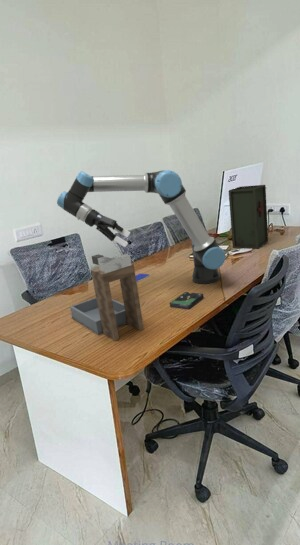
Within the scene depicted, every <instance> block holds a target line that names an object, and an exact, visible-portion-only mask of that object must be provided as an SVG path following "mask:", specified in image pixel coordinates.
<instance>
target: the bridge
mask: <svg viewBox="0 0 300 545" xmlns="http://www.w3.org/2000/svg"><path fill="white" fill-rule="evenodd" d="M90 272H91V277H92V283H93V287H94V288H93V289H94V293H95V298H96V299H97V304H98V309H99V315H100V320H101V325H102V330H103V333H102V334H103V335H105V336H106V337H108V338H109V339H111V340H113V341H114V342H115V341H118V340H120V336H119V331H118V327H117V324H116V318H115V313H114V307H113V302H112V299H113V296H112V292H111V287H110V283H113V282H116V281H118V280H119V283H120V284H119V285H120V290H121V296H122V301H123V304H124V308H125V314H126V319H127V323H126V324H127V325H129V326H131V327H133V328H135V329H137V330H138V331H141V330H143V329H144V327H145V326H144V323H143V317H142V314H143V313H142V308H141V303H140V298H139V296H140V295H139V291H138V284H137V283H138V282H136V271H135V267H134V263H133V264H132V263H131V265H130V266H127V267H124V268H121V269H118V270H115V271H111V272H108V273H102V272H100V269H99V267H97V268H93V269H91V270H90Z"/></svg>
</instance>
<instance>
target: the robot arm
mask: <svg viewBox="0 0 300 545" xmlns="http://www.w3.org/2000/svg"><path fill="white" fill-rule="evenodd" d="M135 191H136V192H141V191H142V192H145V193H152V194H153V193H154V194H158V195H159V197H160V198H161V200H162V202H163V203H164V205H166V206H169V207H170V208H171V210H172V211H173V213H174V215H175V216H176V219H177V220H178V222H179V223H180V224H181V226H182V228H183V230H185V233H186V234H187V236H188V237H189V239H190V240H191V248H192V259H193V266H194V267H193V271H192V275H191V276H192V277H191V278H192V282H193V283H195V284H203V285H205V284H212V283H216V282H218V281H220V280H221V273H220V271H219V268H221V267H222V266H223V265H224V263H225V261H226V253H225V250H224V249H223V248H222V247H221V246H220V245H219V244H218V242H217V240H215V239H214V237H210V236H209V235H208V233H209V232H208V231H207V230H206V228H205V226H204V224H203V223H202V221H201V220H200V218H199V216H198V214H197V213H196V212H195V210H194V208H193V207H192V205H191V203H190V201H189V200H188V198H187V197H186V191H187V190H186V189H185V187H184V185H183V182H182V179H181V177H180V175H179V173H178V172H175V171H173V170H172V169H170V170H169V169H166V170H165V169H164V170H159V171H153V172H145V173H144V174H139V175H138V174H136V175H135V174H133V175H132V174H130V175H128V174H126V175H92V176H91V175H90V174H88V173H86V172H85V171H83V170H80V171H79V172H78V174H77V176H76V178H75V179H74V181H73V183H72V185H71V187H70V188H69V189H68V192H67V191H62V192H61V194H60V195H59V196H58V198H57V200H56V204H57V206H58V207H60V209H62V210H63V211H66V212H67V213H68V214H70V215H72V216H73V217H75V218H77V220H78V221H81V222H83V223H84V224H86V225H87V226H89V227H90V228H91V227H93V226H96V228H95V229H96V230H97V231H98V232H100V233H101V234H102V235H104V236H105V237H106V238H107V239H108V240H109V241H111V242H115V243H116V244H118V245H120V246H121V247H123V248H126V247H127V245H129V243H128V242H129V241H128V242H127V241H126V240H125V239H123V238H122V237H120V236H118V235H117V234H114V232H113V231H111V229H112V230H115V231H116V232H117V233H118V234H120V235H122V236H123V237H125V238H128V237H129V236H130V234H131V233H132V232H131V231H129V230H127V229H126V228H125V227H122V226H121V224H120V225H119V224H118V223H117V222H118V221H117V220H115V219H113V218H111V217H109V216H108V217H107V216H105V215H103V214H101V213H100V211H97V210H96V209H93V208H92V206H89V205H88V204H87V203H85V202H83V201H84V200H85V198H86V196H87V194H88V193H97V192H99V193H103V192H135ZM110 228H111V229H110Z"/></svg>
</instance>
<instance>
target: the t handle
mask: <svg viewBox="0 0 300 545" xmlns="http://www.w3.org/2000/svg"><path fill="white" fill-rule="evenodd" d="M91 260H92V264H94V265H96V266H98V268H99V269H100V272H102V273H108V272H111V271H115V270H118V269H121V268H124V267H127V266H130V265H131V264H132V259H131V255H130V254H126V253H125V254H121V255H118V256H114V257H107V256H105V255H102V254H99V253H98V254H94V255H91Z"/></svg>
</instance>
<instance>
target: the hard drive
mask: <svg viewBox="0 0 300 545" xmlns="http://www.w3.org/2000/svg"><path fill="white" fill-rule="evenodd" d="M135 276H136V283H138V282H140V281H142V280H144V279H147V278H149V277H150V274H148V273H140V272H139V273H138V274H135Z"/></svg>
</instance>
